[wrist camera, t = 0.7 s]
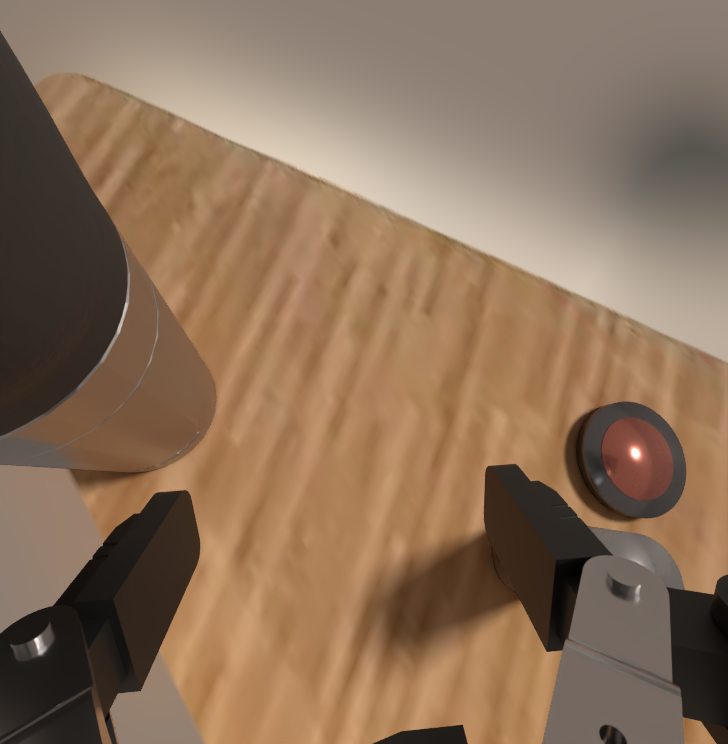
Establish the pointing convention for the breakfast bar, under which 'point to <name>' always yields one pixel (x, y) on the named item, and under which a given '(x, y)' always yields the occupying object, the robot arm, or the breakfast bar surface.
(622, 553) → the grey metal cylinder
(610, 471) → the flange pad
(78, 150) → the breakfast bar surface
